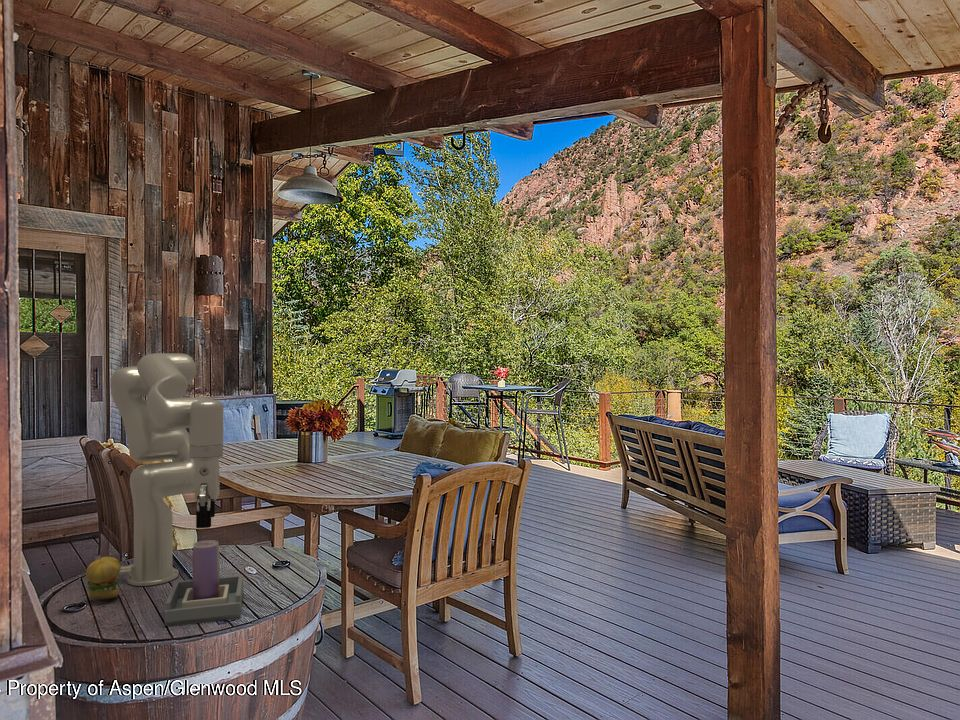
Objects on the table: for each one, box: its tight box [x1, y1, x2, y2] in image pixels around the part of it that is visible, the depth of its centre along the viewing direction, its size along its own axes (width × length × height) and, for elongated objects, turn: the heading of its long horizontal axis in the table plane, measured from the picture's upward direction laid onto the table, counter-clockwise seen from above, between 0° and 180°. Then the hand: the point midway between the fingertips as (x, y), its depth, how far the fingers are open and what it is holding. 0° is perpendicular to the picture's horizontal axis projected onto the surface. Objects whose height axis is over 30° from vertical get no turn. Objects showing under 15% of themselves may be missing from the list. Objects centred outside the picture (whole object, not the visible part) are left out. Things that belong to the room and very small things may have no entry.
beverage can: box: [192, 539, 220, 600], centre depth 154 cm, size 6×6×15 cm
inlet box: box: [163, 574, 244, 627], centre depth 154 cm, size 16×16×5 cm
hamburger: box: [85, 555, 122, 600], centre depth 160 cm, size 8×7×12 cm
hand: (205, 522), depth 154 cm, fingers open, 9 cm apart
